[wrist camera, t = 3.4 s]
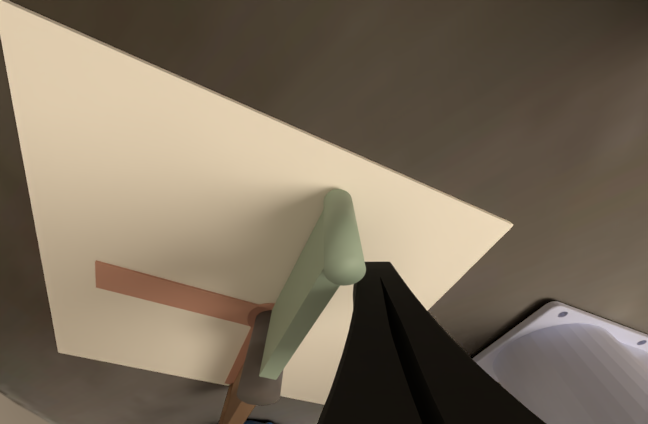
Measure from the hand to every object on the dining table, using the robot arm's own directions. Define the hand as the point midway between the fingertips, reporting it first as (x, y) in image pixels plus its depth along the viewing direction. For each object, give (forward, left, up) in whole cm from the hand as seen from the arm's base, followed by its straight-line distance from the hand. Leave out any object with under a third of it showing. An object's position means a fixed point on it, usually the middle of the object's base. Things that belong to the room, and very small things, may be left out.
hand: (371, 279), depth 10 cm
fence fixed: (+2, +11, -2) cm, 12 cm away
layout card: (+4, +6, -3) cm, 8 cm away
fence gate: (+2, +2, -2) cm, 4 cm away
